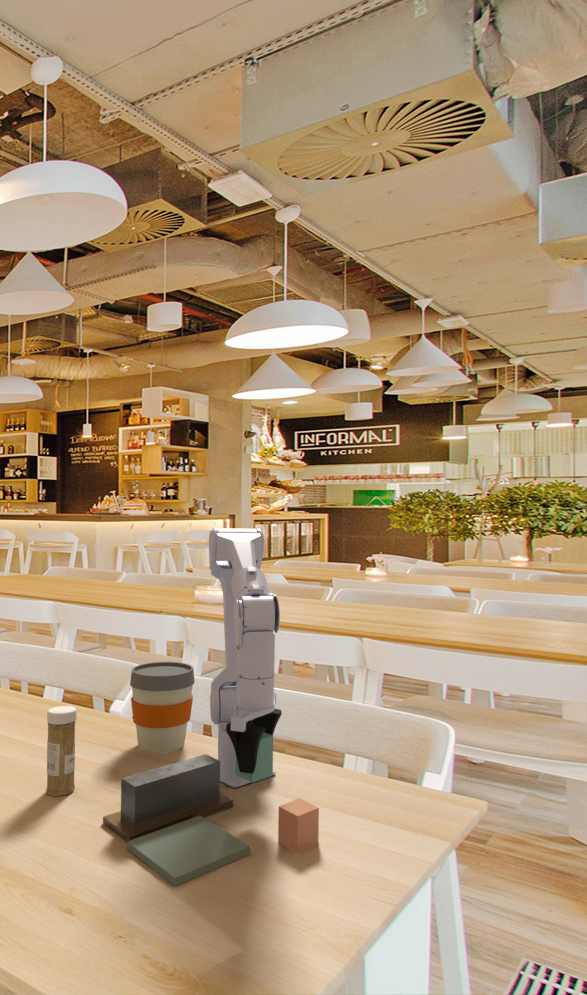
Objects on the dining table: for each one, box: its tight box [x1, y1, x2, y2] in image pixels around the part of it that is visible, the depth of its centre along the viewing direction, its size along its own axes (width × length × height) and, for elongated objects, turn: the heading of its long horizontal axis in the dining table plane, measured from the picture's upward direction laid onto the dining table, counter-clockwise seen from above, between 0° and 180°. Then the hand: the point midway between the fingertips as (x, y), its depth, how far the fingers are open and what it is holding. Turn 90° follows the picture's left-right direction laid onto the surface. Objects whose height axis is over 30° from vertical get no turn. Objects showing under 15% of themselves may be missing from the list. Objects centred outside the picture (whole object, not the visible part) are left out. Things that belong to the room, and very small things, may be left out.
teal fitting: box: [235, 732, 274, 783], centre depth 102 cm, size 4×4×6 cm
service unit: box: [102, 753, 234, 843], centre depth 102 cm, size 18×8×7 cm, turn 133°
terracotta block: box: [277, 797, 320, 854], centre depth 94 cm, size 4×4×5 cm
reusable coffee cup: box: [129, 661, 195, 754], centre depth 132 cm, size 13×13×15 cm
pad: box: [126, 816, 251, 887], centre depth 91 cm, size 12×12×1 cm
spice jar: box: [45, 705, 78, 797], centre depth 110 cm, size 5×5×14 cm
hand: (254, 764), depth 102 cm, fingers closed on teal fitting, 5 cm apart
